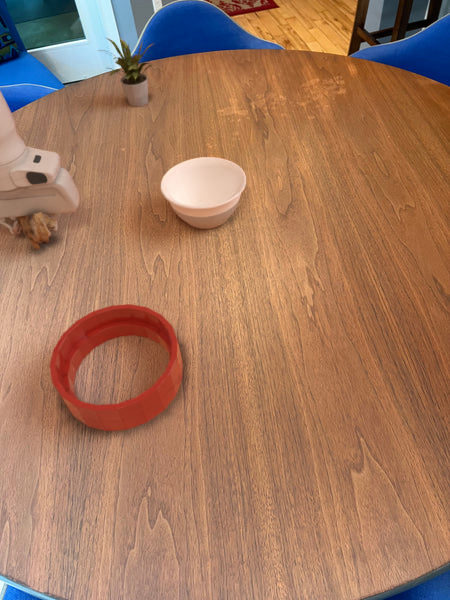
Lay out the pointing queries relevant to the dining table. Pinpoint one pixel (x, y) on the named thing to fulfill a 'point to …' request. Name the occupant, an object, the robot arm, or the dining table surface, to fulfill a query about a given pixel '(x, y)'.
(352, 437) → the dining table surface
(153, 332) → the red plastic ring
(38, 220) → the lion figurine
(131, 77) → the house plant
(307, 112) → the dining table surface
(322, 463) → the dining table surface
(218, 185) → the bowl
